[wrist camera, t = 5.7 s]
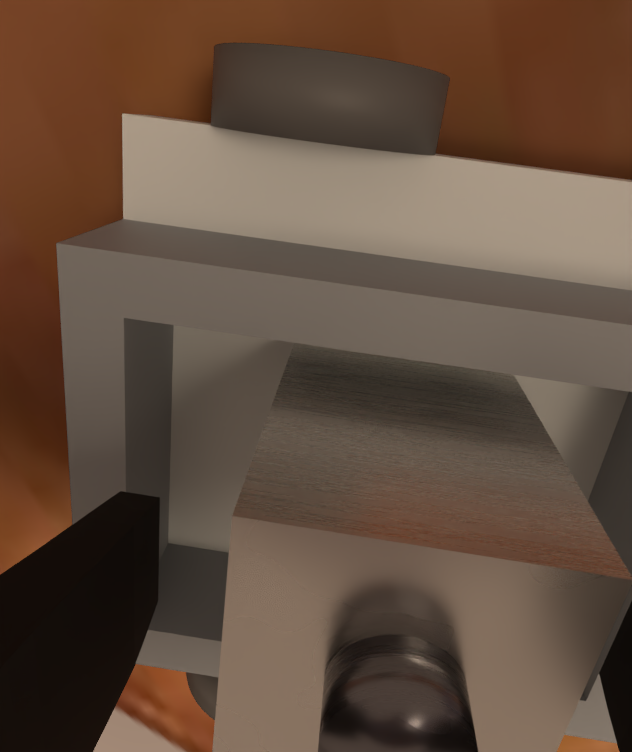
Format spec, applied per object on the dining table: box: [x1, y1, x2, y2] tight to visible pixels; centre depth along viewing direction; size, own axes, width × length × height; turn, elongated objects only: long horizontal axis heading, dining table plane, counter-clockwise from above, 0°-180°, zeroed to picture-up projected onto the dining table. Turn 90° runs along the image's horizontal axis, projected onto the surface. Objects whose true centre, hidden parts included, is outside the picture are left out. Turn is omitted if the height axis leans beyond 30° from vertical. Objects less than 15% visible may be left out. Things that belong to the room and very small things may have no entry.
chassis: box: [56, 43, 632, 743], centre depth 12 cm, size 20×14×6 cm
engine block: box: [212, 343, 632, 752], centre depth 9 cm, size 4×4×7 cm
